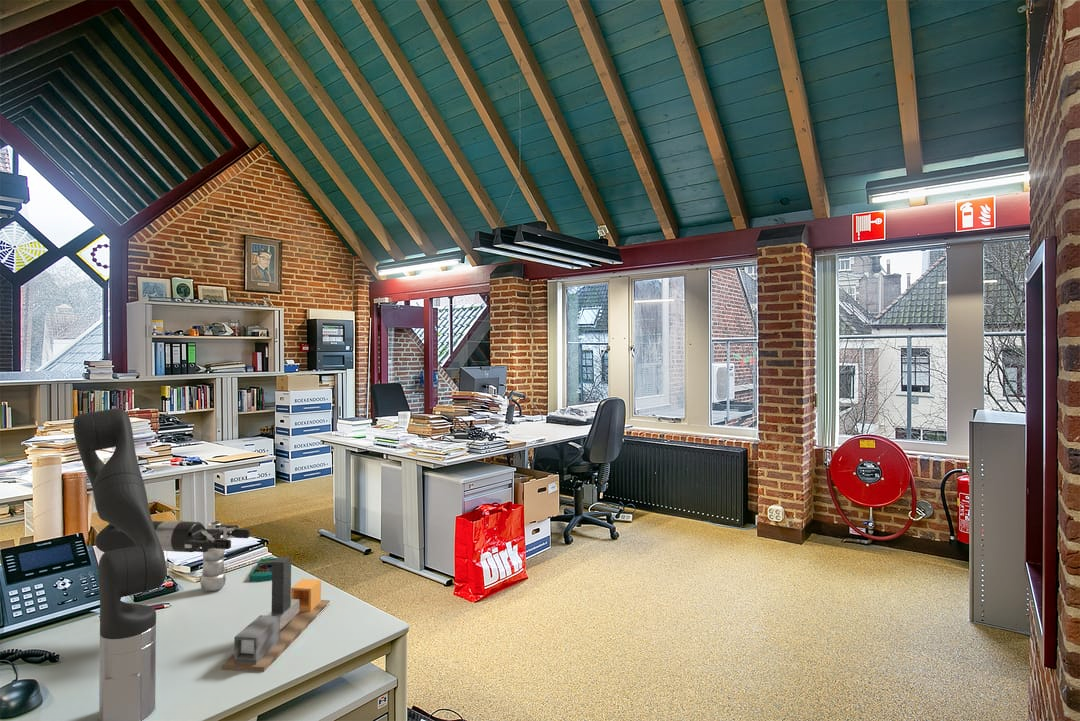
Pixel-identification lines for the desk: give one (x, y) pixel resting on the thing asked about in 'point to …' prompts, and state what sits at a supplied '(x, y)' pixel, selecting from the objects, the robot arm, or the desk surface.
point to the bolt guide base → (269, 639)
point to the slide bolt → (278, 598)
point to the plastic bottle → (213, 567)
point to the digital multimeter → (262, 570)
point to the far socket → (307, 593)
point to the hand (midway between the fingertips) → (240, 538)
